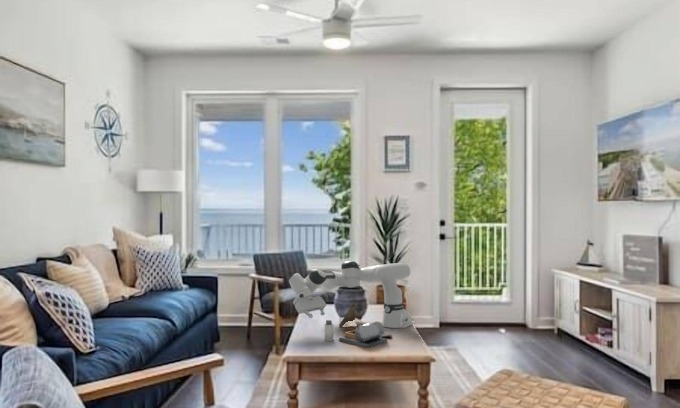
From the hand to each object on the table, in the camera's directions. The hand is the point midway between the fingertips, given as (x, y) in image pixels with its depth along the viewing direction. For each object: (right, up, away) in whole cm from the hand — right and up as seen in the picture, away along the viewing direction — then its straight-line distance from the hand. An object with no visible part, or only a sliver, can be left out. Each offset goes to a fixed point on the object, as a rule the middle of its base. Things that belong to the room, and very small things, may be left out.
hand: (317, 316), depth 336 cm
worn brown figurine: (+18, -12, +28) cm, 35 cm away
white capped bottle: (+7, -13, -6) cm, 15 cm away
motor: (+26, -12, -10) cm, 31 cm away
